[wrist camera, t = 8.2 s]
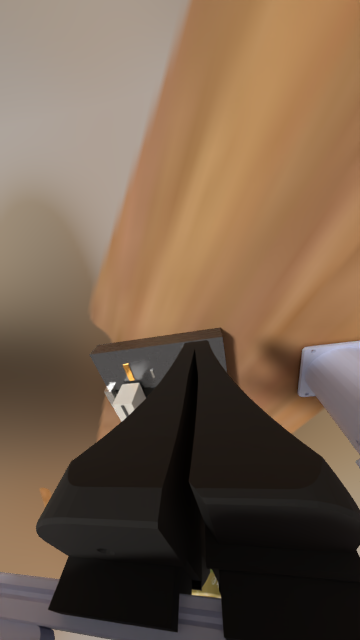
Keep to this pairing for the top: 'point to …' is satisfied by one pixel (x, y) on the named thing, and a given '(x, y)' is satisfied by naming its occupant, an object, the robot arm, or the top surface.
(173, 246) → the top surface
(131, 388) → the fader cap
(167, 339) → the console
